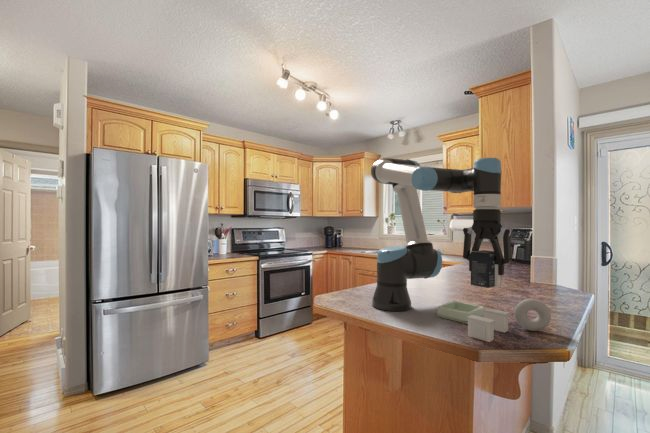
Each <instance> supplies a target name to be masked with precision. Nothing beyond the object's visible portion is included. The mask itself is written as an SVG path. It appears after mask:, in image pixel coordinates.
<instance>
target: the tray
mask: <svg viewBox="0 0 650 433" xmlns="http://www.w3.org/2000/svg"><path fill="white" fill-rule="evenodd" d="M484 309H486V307H485V306H481V305H477V304H471V303H468V302H467V303H466V302H463V301H462V302H461V301H456V300H453V301H450V302H447V303H444V304H441V305H438V306H437V307H436V317H437V318H442V319H446V320H449V321H453V320H454V321H453V322H457V321H458V322H457V323H461V322H462V323H461V324H464V325H468V319H467V317H468V316H470V315H475V316H480V317H484V312H483V310H484Z"/></svg>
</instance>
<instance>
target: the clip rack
mask: <svg viewBox="0 0 650 433" xmlns="http://www.w3.org/2000/svg"><path fill="white" fill-rule="evenodd" d="M483 312H484V317H480V316H475V315H470V316H468V317H467V319H468V324H467V337H470V338H473V339H477V340H481V341H483V342H488V343H490V342H492V341H493V340H494V339H495V338H494V336H495V335H494V333H495V332H494V331H496V332H499V333H507V332H508V331H509V315H510V312H509V311H504V310H500V309H499V310H498V309H494V308H489V307H485V309H484V310H483Z"/></svg>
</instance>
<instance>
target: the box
mask: <svg viewBox="0 0 650 433" xmlns="http://www.w3.org/2000/svg"><path fill="white" fill-rule="evenodd" d="M470 253H471V271H470V285H471V286H475V287H478V288H484V289H489V288H494V287H496V286H495V264H497V263H498V262H497V259H496V256H495V253H494V250H485V249H483V250H479V251H471V250H470Z"/></svg>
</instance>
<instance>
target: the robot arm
mask: <svg viewBox="0 0 650 433" xmlns="http://www.w3.org/2000/svg"><path fill="white" fill-rule="evenodd" d="M502 173H503V172H502V162H501V159H499V158H498V157H497V158H496V157H482V158H477V159H476V160H474V161H473V166H472V168H467V169H466V168H465V169H456V168H454V169H453V168H443V167H432V166H426V165H425V166H422V165H420V163H419V162H418V161H416V160H411V159H408V158H407V159H401V158H400V159H399V158H393V157H383V158H379V159H377V160H376V161H374V163H373V164H372V166H371V168H370V174H371V177H372V179H373V180H374V181H376V182H377V183H380V184H383V185H392V191H393V192H394V193H396V194H397V200H398V203H399V204H398V205H399V207H400V208H399V209H400V214H401V220H402V225H403V231H404V237H405V241H406V244H405V246H403V245H402V246H401V245H399V246H398V245H397V246H385V247H382V248H380V249H378V251H377V255H376V288H375V291H374V294H373V296H372V299H371V301H372V302H371V303H372V304H371V305H372V307H374V308H376V309H378V310H381V311H387V312H405V311H409V310H411V309H412V300H411V297H410V293H409V290H408V286H407V285H408V280H413V279H425V280H426V279H430V278H435V277H437V276H438V275H439V274H440V272H441V270H442V267H443V257H442V254H441V252H440V251H439V250H438V249H435V248H434V245H433V243H432V242H431V241H430V240H428V236H427V231H426V227H425V223H424V222H425V221H424V217H423V213H422V208H421V202H420V199H419V193H418V191H419V190H421V191H425V192H427V191H431V192H433V191H436V192H449V193H451V194H462V193H468V192H469V193H470V192H473V194H472V195H473V200H472V201H473V203H472V204H473V208H474V209H473V212H472V216H473V217H472V222H473V223H472V225H471V226H469V227H463V229H462V231H463V235H464V237H463V251H462V258H463V259H465V260H467V261H468V271H469V272H471V251H480V248H481V245H482V242H483V240H484V239H487V240H489V241H490V243H491V246H492V251H494V253H495V256H496V259H497V262H498V263H497V264H495V286H494V287H497V288H498V287H500V286H502V276H504V274H505V265H506V264H510V263H512V261H513V260H512V245H511V244H512V243H511V241H512V240H511V237H512V233H513V229H511V228H505V227H503V226H502V223H501V221H502V220H501V218H502V213H501V212H502V211H501V209H500V208H501V207H502V190H501V188H502V186H501V185H502ZM473 233H475V237H474V243H473V244H472V234H473ZM500 233H501V235H502V243H503V252H502V247H501V245H500V240H499V237H498V235H499V234H500ZM471 246H472V248H471Z"/></svg>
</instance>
